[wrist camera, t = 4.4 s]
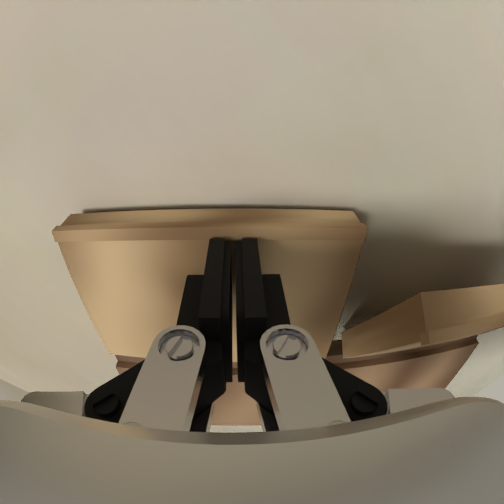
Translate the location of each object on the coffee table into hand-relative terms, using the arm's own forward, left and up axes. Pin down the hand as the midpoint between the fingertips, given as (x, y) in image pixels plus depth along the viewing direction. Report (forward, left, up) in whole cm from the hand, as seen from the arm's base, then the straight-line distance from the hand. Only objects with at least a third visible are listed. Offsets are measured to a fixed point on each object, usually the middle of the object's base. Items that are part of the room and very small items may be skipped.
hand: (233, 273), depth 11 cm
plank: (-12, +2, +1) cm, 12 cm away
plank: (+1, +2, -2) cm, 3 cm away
